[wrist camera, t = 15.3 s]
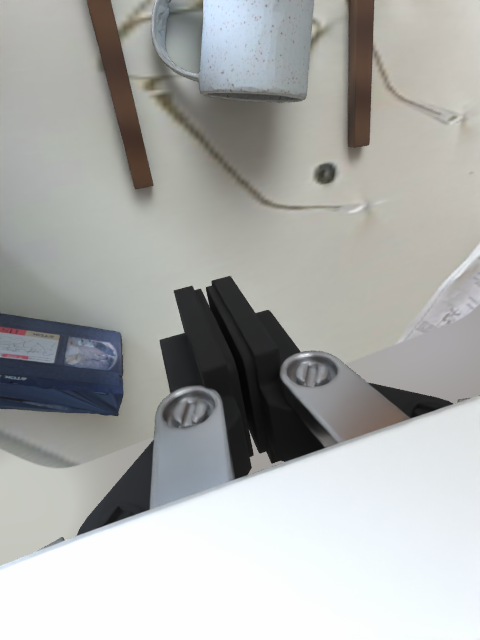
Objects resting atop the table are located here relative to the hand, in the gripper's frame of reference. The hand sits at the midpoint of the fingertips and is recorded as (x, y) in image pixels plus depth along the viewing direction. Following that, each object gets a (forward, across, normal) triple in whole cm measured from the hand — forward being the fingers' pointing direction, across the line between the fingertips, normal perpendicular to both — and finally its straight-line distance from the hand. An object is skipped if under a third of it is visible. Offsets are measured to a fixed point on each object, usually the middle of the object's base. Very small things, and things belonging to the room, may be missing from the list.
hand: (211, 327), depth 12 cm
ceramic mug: (+26, -8, -8) cm, 28 cm away
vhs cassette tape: (+26, +14, +10) cm, 31 cm away
